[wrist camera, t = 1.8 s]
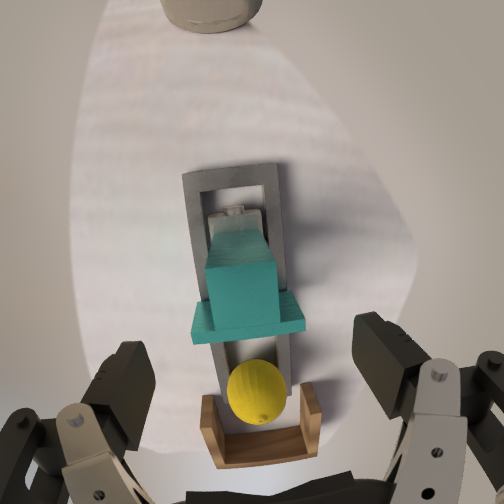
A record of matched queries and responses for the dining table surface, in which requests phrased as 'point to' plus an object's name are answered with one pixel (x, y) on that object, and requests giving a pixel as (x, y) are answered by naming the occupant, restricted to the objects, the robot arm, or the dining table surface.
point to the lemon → (256, 391)
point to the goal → (263, 437)
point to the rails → (274, 232)
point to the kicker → (242, 284)
